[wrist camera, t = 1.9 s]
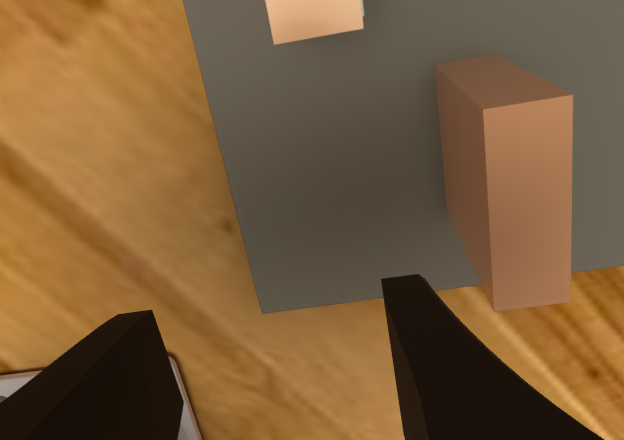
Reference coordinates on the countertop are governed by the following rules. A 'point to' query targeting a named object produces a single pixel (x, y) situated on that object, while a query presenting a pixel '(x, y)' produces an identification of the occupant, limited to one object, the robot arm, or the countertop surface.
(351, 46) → the mat
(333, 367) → the countertop surface
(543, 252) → the tile far
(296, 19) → the tile near
